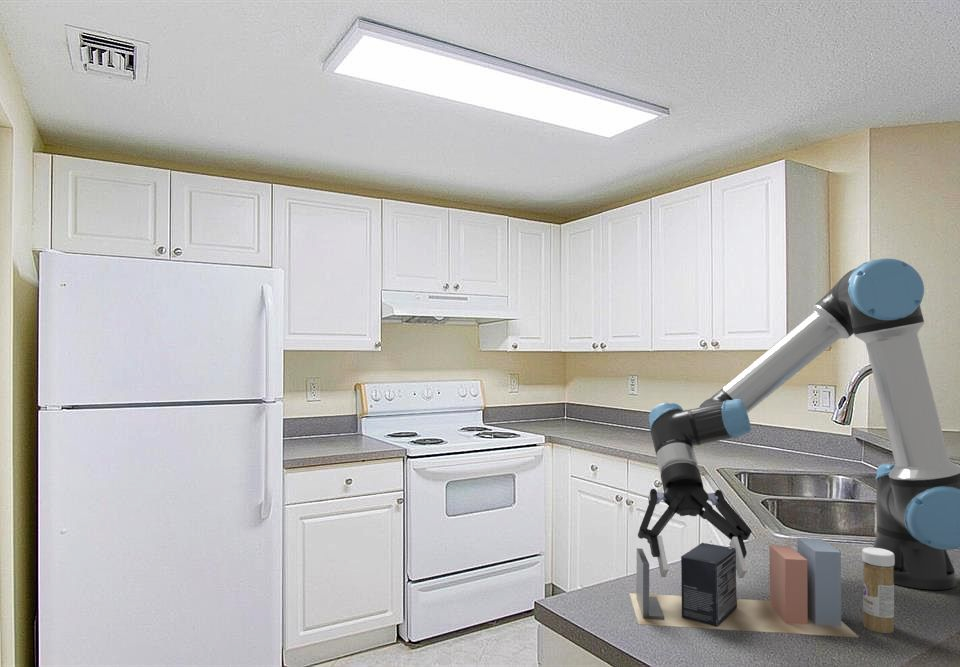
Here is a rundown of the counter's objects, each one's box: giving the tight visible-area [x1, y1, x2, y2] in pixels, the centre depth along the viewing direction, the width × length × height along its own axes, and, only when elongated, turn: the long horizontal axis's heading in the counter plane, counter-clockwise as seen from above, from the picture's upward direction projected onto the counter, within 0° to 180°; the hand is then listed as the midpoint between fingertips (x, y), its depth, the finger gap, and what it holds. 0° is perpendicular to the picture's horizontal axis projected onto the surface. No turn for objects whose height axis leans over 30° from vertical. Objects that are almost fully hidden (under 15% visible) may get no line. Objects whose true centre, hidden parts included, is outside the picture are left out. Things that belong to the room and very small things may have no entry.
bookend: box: [636, 548, 664, 620], centre depth 113 cm, size 4×9×9 cm, turn 173°
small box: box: [680, 542, 738, 627], centre depth 112 cm, size 11×6×10 cm, turn 142°
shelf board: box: [628, 592, 859, 638], centre depth 111 cm, size 34×14×1 cm, turn 83°
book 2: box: [796, 537, 842, 626], centre depth 111 cm, size 4×8×12 cm, turn 173°
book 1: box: [768, 544, 808, 624], centre depth 111 cm, size 4×8×10 cm, turn 173°
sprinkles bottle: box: [861, 546, 895, 634], centre depth 106 cm, size 5×5×13 cm
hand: (703, 574), depth 114 cm, fingers open, 13 cm apart
